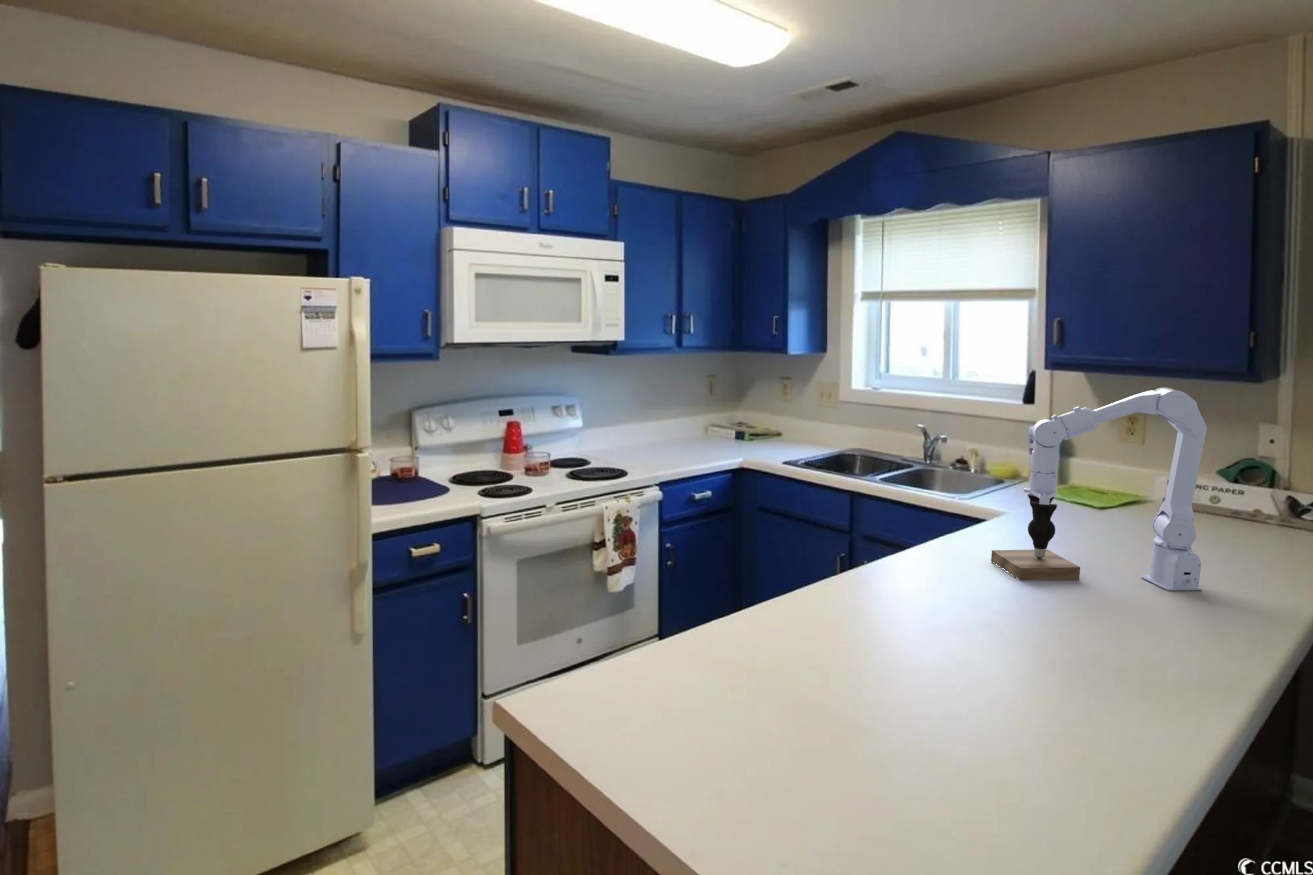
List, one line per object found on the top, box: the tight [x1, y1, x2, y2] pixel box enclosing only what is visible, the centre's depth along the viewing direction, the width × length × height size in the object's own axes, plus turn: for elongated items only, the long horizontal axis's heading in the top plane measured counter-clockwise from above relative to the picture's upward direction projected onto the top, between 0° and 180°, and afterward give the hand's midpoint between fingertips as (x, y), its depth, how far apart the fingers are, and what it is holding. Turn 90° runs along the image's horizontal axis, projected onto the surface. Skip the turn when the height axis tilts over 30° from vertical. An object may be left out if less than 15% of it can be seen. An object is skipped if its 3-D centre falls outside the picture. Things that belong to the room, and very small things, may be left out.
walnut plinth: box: [990, 549, 1081, 581], centre depth 189 cm, size 14×14×3 cm
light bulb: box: [1027, 518, 1056, 559], centre depth 187 cm, size 6×6×10 cm
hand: (1039, 528), depth 187 cm, fingers open, 7 cm apart
